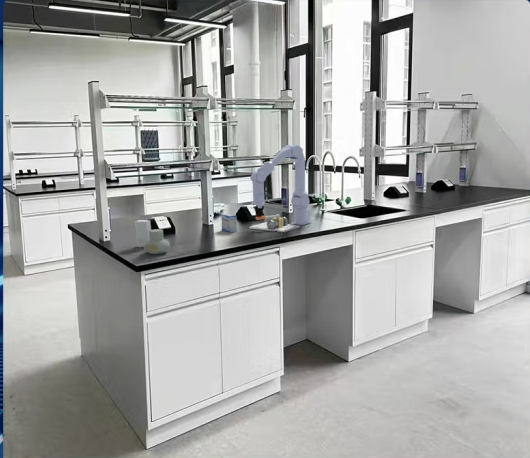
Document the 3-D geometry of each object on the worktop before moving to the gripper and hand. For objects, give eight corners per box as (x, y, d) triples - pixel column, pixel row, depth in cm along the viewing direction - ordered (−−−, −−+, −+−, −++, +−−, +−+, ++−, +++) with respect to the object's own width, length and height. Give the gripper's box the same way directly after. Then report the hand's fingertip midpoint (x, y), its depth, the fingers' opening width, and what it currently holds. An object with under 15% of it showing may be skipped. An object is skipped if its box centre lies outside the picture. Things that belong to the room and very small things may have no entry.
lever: (278, 216, 261) (278, 214, 260) (280, 217, 258) (280, 214, 258) (255, 219, 254) (255, 216, 254) (257, 219, 252) (257, 217, 252)
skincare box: (152, 245, 225) (151, 220, 222) (148, 247, 220) (146, 221, 218) (141, 245, 226) (139, 219, 224) (136, 247, 222) (134, 221, 220)
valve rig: (266, 223, 273) (266, 213, 272) (299, 227, 261) (299, 216, 259) (249, 228, 260) (249, 217, 259) (283, 232, 248) (283, 221, 247)
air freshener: (173, 251, 213) (171, 229, 211) (163, 255, 205) (162, 232, 203) (151, 249, 216) (150, 228, 214) (141, 254, 209) (139, 231, 207)
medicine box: (221, 230, 257) (220, 214, 255) (228, 229, 260) (227, 213, 258) (230, 232, 251) (229, 216, 249) (237, 231, 254) (236, 215, 252)
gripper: (249, 192, 260) (250, 217, 263) (252, 196, 246) (252, 222, 249) (262, 192, 261) (263, 217, 264) (265, 195, 247) (266, 221, 250)
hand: (258, 219), depth 256 cm, fingers closed
